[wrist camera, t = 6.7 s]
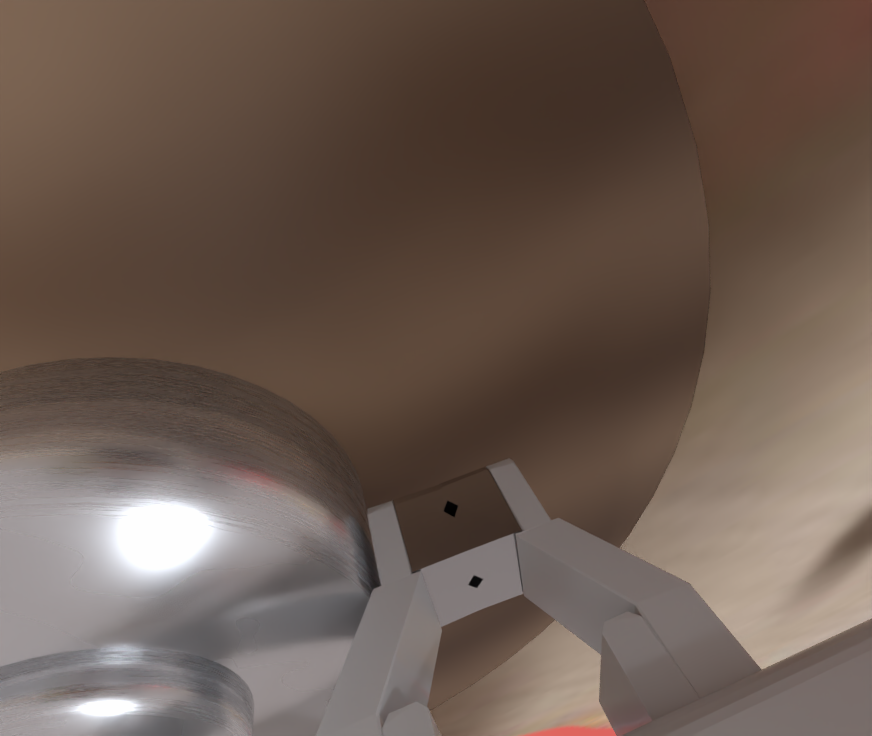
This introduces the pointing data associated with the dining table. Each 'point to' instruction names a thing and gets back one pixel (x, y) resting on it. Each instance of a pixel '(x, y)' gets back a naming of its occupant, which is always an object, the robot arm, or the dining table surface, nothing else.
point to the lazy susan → (374, 233)
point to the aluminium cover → (171, 554)
